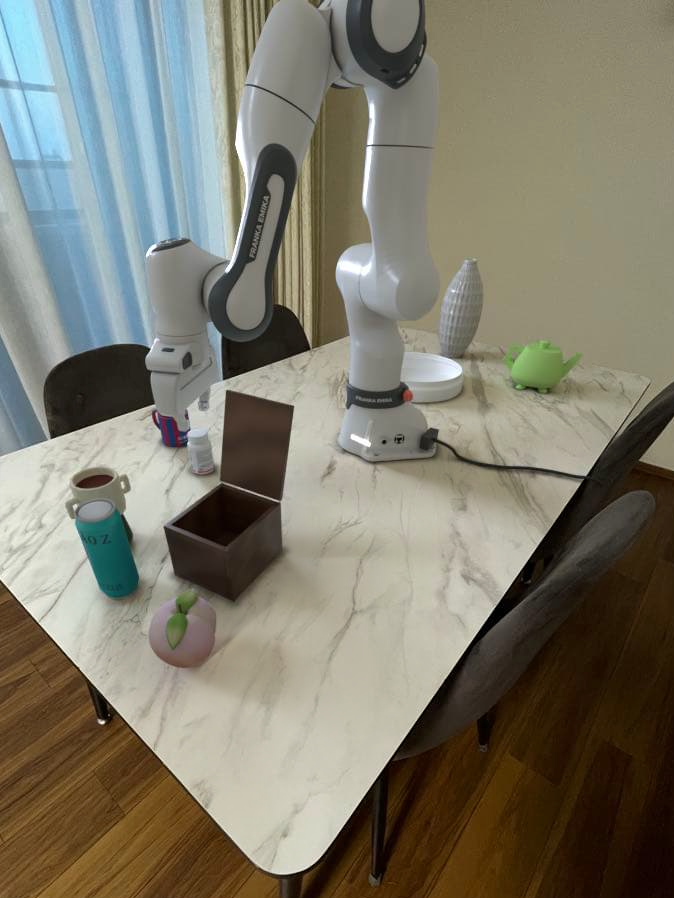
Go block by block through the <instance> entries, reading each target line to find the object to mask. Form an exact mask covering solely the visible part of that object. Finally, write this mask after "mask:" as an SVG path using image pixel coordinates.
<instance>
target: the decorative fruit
mask: <svg viewBox="0 0 674 898" xmlns="http://www.w3.org/2000/svg"><path fill="white" fill-rule="evenodd" d="M217 621H218V619H217V613H216V611H215V609H214V607H213V606H212V604H211V603H209V602H208V601H207V600H205V599H204V598H202V597H200V596H198V591H197V590H196V589H195V588H190V589H186V590H183V592H181V593H180V594H179V595H178V596H176V598H173V599H170V600H169V601H166V602H165V603H163V604H161V606H159V608H157V610H156V611H155V612H154V614H153V615H152V617H151V620H150V623H149V627H148V634H147V635H148V642H149V643H148V644H149V646H150V649H151V650H152V652H153V653H154V654H155V656H156V657H157V658H158V659H159V660H160V661H162V662H163V663H166V664H167V665H170V666H172V667H174V668H179V669H191V668H194V667H197V666H198V665H201V664H202V663H203V662H205V660H207V659H208V657H209V656H210V655H211V653H212V651H213V649H214V647H215V644H216V629H217Z"/></svg>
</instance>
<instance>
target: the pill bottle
mask: <svg viewBox="0 0 674 898" xmlns="http://www.w3.org/2000/svg"><path fill="white" fill-rule="evenodd" d="M187 435H188V440H189V441H188V443H187V444H186V446H187V452H188V457H189V463H190V469H191V471H192V472H193V474H196V475H207V474H210V473H212V472H213V471H214V469H215V463H214V455H213V447H212V441H211V439H209V434H208V430H206V429H205V428H193V429H191V430H190V431H189V432H188V434H187Z"/></svg>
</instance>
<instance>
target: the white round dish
mask: <svg viewBox="0 0 674 898" xmlns="http://www.w3.org/2000/svg"><path fill="white" fill-rule="evenodd" d="M403 381H404V382H405V384H406V385H407V386H408V387H409V390H410V391H412V394H413V400H411V401H410V402H411V403H417V404H418V403H420V404H422V403H423V404H424V403H425V404H427V403H429V404H430V403H438V402H444V401H448V400H451V399H454V398H456V397H457V396H458V395H459V394H460V393H461V391H462V388H463V383H464V374H463V368H462V366H461V365H460V364H459V363H458V362H457V361H455V360H453V359H450V358H449V357H446V356H442V355H438V354H433V353H429V352H428V353H427V352H417V351H404V359H403V366H402V374H401V382H403Z"/></svg>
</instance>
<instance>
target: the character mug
mask: <svg viewBox="0 0 674 898" xmlns="http://www.w3.org/2000/svg"><path fill="white" fill-rule="evenodd" d="M122 483H123V486H122ZM69 488H70V490H71V493H72V496H73V497H72V498H69V499H67V501H65V503H64V506H65V509H66V511H67V514H68V517H69V518H70V519H71V520H76V518H75V516H74V511H75V509H74V507H73V506H74V505H76V508H77V507H78V506H79V505H81V504H82V503H84V502H86V501H89V500H93V499H100V498H102V499H109V500H111V501H113V502H114V504H115V506H116V508H117V509H118V510H119V512H120V514H121V518H122V521H123V524H124V528H125V531H126V534H127V538H128V541H129V544H130V545H131V543H132V541H133V539H134V537H133V536H134V534H133V533H134V532H133V531H132V528H131V526H130V524H129V523H128V520H127V518H126V516H125V514H124V513H125V511H126V509H127V500H126V496H125V494H128V493H129V492H130V491H131V490H132V487H131V483H130V480H129V477H128V475H127V474H126V473H125V474H123V473H122V474H120V475H119V473H118V471H117V470H115V468H113V467H109V466H91V467H87V468H83V469H80V470H79V471H77V472H76V473H74V474H73V475H72V476H71V477H70V479H69Z"/></svg>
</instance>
